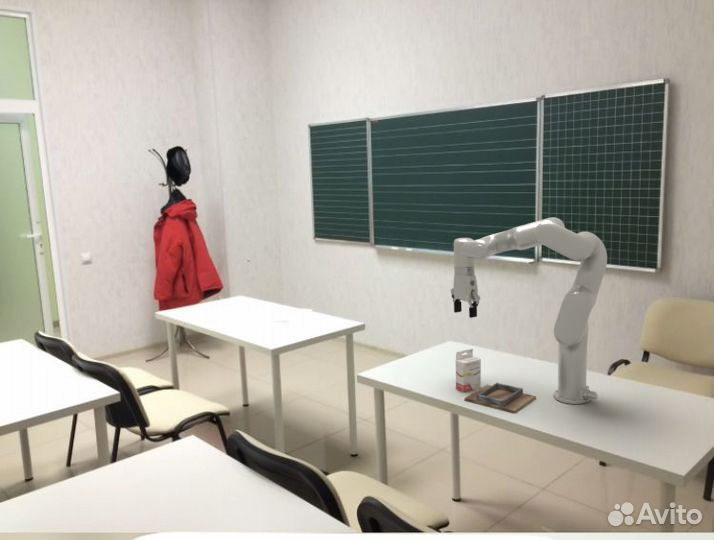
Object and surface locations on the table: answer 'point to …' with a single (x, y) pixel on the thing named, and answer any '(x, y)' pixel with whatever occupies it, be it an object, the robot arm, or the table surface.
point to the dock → (501, 397)
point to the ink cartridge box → (467, 371)
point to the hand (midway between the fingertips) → (465, 314)
